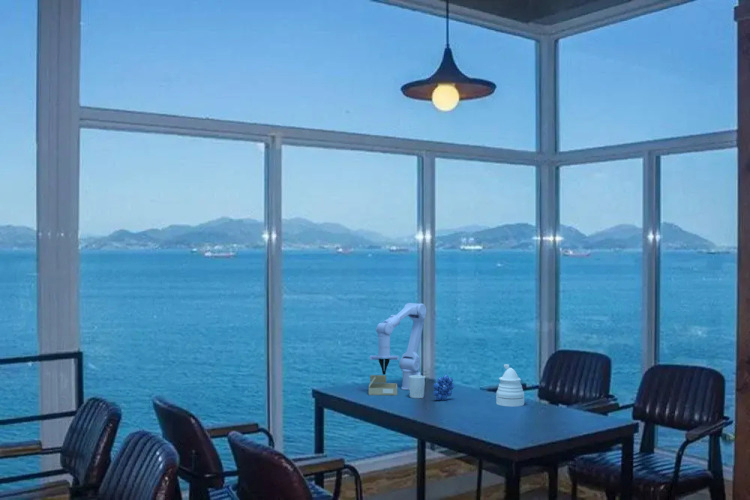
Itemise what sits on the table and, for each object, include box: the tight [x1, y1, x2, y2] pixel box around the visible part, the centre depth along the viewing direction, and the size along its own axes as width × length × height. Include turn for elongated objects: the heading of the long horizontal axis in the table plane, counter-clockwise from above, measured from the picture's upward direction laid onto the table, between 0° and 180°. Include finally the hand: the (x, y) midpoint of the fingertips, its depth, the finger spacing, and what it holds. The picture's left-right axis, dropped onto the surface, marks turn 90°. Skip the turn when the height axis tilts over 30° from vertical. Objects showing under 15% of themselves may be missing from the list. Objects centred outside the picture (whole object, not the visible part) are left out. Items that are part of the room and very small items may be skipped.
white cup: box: [409, 374, 426, 399], centre depth 373 cm, size 8×8×10 cm
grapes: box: [432, 374, 455, 401], centre depth 366 cm, size 12×7×12 cm, turn 117°
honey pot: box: [495, 363, 525, 408], centre depth 358 cm, size 13×13×18 cm
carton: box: [368, 382, 398, 396], centre depth 384 cm, size 14×14×4 cm
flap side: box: [369, 374, 387, 383], centre depth 390 cm, size 8×1×5 cm
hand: (384, 374), depth 382 cm, fingers closed
